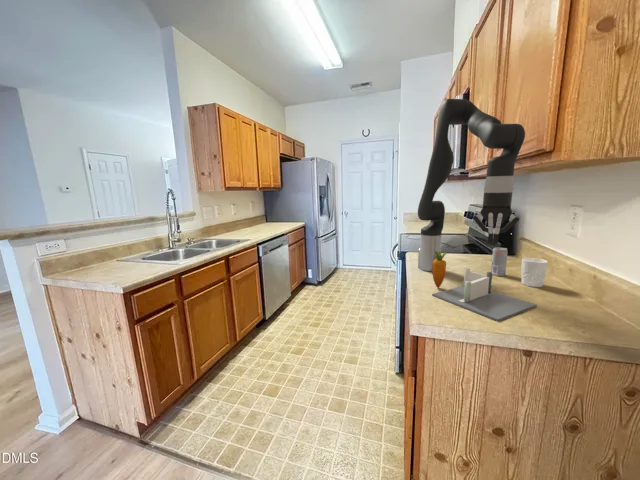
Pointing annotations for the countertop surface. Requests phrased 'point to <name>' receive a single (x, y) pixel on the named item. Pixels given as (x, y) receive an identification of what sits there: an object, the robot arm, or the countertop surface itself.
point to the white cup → (533, 271)
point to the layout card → (487, 303)
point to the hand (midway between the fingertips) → (492, 244)
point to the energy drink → (499, 261)
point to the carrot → (438, 269)
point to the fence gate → (476, 288)
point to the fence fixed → (477, 277)
